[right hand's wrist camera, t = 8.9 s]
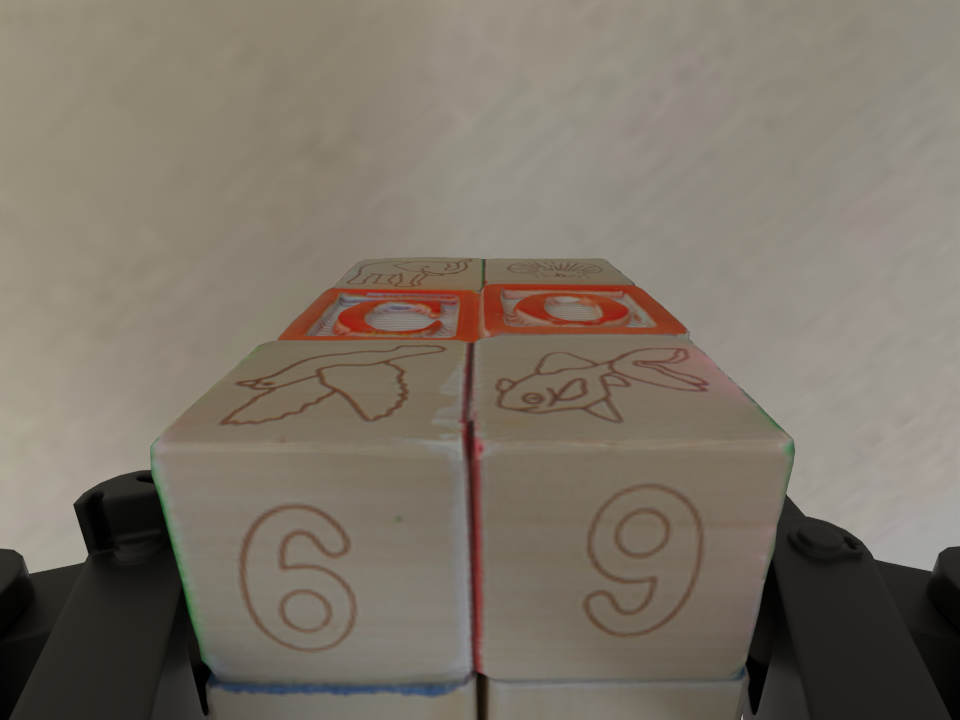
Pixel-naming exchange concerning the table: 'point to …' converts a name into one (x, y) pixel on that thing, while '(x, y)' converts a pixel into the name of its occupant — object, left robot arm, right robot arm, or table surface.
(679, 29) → the table surface
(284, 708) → the stack of blocks
